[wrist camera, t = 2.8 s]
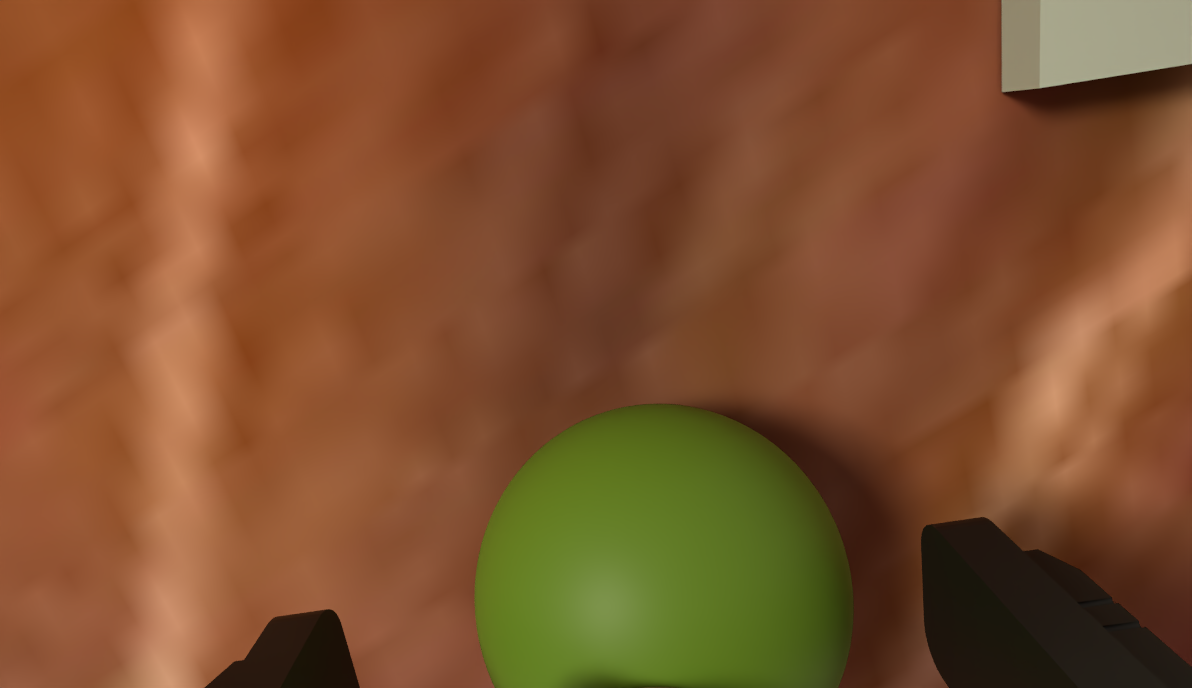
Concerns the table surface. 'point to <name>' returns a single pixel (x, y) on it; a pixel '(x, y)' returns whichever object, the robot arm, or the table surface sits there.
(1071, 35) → the collar stand
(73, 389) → the table surface
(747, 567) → the snail figurine
